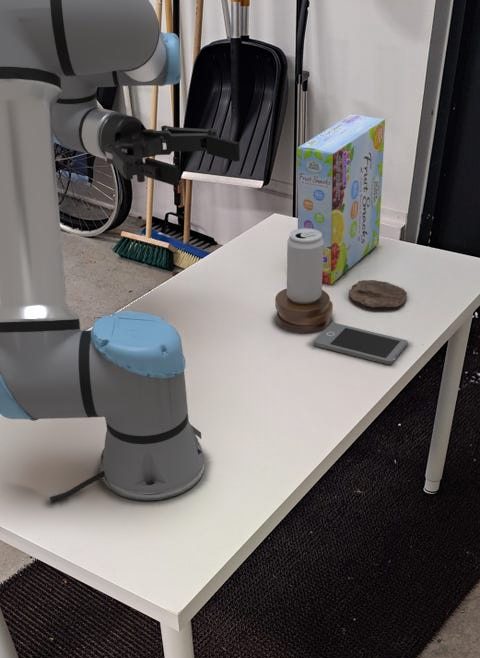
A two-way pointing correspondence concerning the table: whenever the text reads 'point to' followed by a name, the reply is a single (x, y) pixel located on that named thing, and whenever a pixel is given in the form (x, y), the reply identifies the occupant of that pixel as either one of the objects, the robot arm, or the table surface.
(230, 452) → the table surface
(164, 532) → the table surface
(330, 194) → the snack box
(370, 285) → the rock
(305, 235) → the beverage can
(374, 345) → the smartphone
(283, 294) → the chip pile
